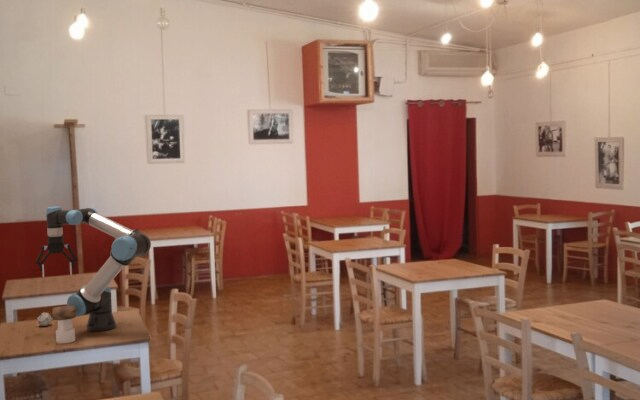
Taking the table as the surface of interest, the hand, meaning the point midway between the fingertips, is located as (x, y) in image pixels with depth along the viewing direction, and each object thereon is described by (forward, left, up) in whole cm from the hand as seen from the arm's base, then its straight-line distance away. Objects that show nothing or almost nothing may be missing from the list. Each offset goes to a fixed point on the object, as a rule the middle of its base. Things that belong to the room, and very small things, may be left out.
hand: (57, 275), depth 356 cm
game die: (+9, -21, -31) cm, 38 cm away
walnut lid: (-4, +20, -19) cm, 28 cm away
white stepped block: (-4, +20, -31) cm, 37 cm away
